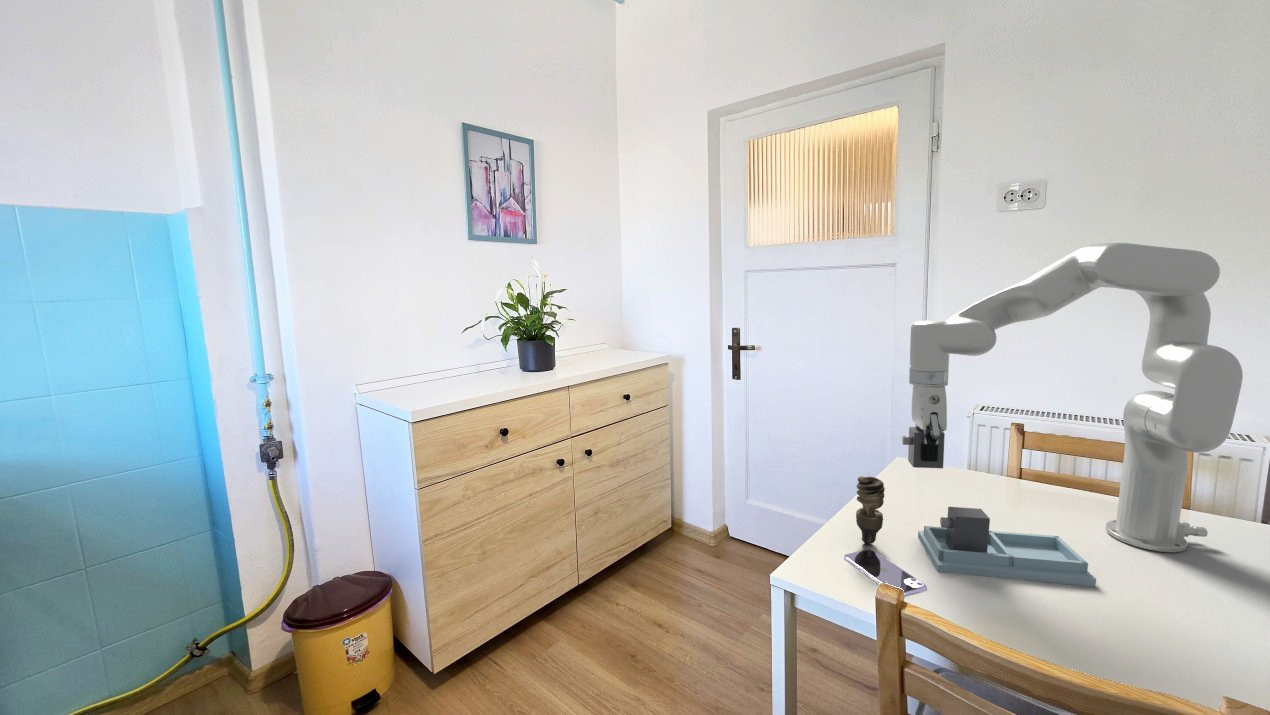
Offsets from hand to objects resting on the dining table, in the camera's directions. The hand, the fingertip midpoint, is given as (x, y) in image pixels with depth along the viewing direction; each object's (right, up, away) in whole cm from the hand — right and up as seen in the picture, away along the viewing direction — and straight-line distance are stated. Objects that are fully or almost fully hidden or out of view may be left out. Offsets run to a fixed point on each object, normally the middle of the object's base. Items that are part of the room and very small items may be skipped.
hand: (925, 456), depth 121 cm
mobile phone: (-17, -20, -17) cm, 31 cm away
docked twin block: (+1, -17, -12) cm, 21 cm away
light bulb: (-16, -18, -6) cm, 24 cm away
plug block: (0, -2, 0) cm, 2 cm away
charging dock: (+7, -18, -13) cm, 24 cm away
